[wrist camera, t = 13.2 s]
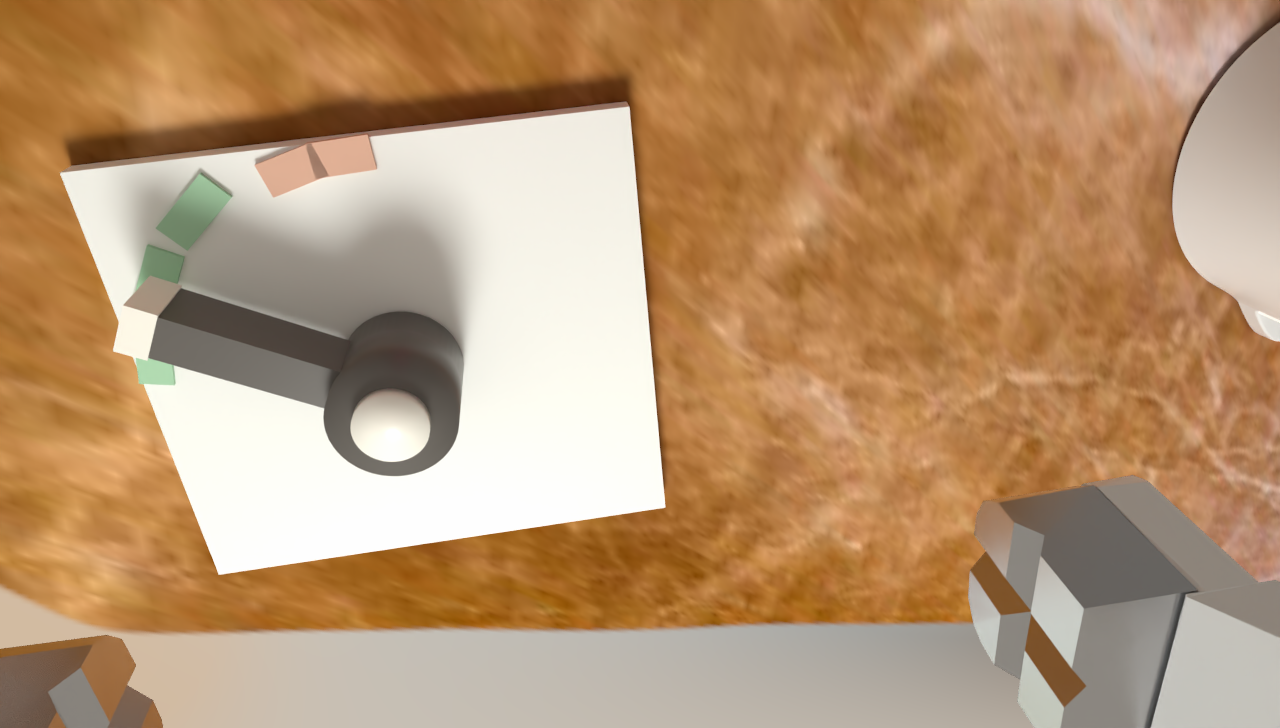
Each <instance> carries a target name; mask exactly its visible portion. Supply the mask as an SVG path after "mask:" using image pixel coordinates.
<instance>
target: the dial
mask: <svg viewBox="0 0 1280 728" xmlns="http://www.w3.org/2000/svg"><path fill="white" fill-rule="evenodd" d="M113 351H114V352H118V353H121V354H125V355H128V356H132V357H135V358H139V359H142V360H146V361H147V360H148V359H149V358H150V359H153V360H157V361H160V362H164V363H167V364H171V365H174V366H177V367H181V368H184V369H188V370H191V371H195V372H198V373H202V374H205V375H209V376H212V377H216V378H219V379H223V380H226V381H230V382H233V383H237V384H240V385H244V386H247V387H251V388H254V389H258V390H261V391H265V392H268V393H272V394H275V395H279V396H282V397H286V398H289V399H293V400H296V401H300V402H303V403H307V404H310V405H314V406H317V407H321V408H324V415H323V419H324V427H325V431H326V434H327V437H328V439H329V441H330V443H331V444H332V446H333V447H334V449H335V450H336V451H337V452H338V453H339V454H340V455H341V456H342V457H343V458H344V459H345V460H347V461H348V462H349V463H351V464H352V465H354V466H356V467H357V468H360V469H362V470H364V471H367V472H370V473H373V474H378V475H383V476H405V475H411V474H415V473H418V472H421V471H424V470H426V469H428V468H430V467H432V466H433V465H435V464H437V463H438V462H439V461H440V460H442V459H443V458H444V457H445V456H446V454H447V453H448V452H449V451H450V449H451V448H452V446H453V444H454V442H455V440H456V437H457V434H458V429H459V420H460V409H461V397H462V385H463V373H464V361H463V355H462V352H461V349H460V347H459V345H458V343H457V341H456V340H455V338H454V337H453V336H452V334H451V333H450V332H449V331H448V330H447V329H446V328H445V327H444V326H442V325H441V324H439V323H438V322H436V321H435V320H433V319H431V318H429V317H426V316H424V315H420V314H417V313H411V312H389V313H384V314H380V315H378V316H375V317H373V318H371V319H369V320H367V321H365V322H364V323H362V324H361V325H360V326H359V327H358V328H357V329H356V330H355V331H354V332H353V333H352V334H351V336H350V338H349V339H348V340H346V339H343V338H340V337H337V336H334V335H330V334H327V333H324V332H321V331H317V330H314V329H311V328H308V327H305V326H301V325H298V324H295V323H292V322H288V321H285V320H282V319H279V318H276V317H272V316H269V315H266V314H263V313H259V312H256V311H253V310H250V309H247V308H243V307H240V306H237V305H234V304H230V303H227V302H224V301H221V300H218V299H214V298H211V297H208V296H205V295H201V294H198V293H195V292H192V291H189V290H185V289H182V285H179V284H176V283H172V282H169V281H166V280H163V279H159V278H156V277H153V276H149V277H148V278H147V279H146V280H145V282H144V283H143V284H142V285H141V286H140V287H139V288H138V289H137V290H136V291H135V293H134V294H133V295H132V296H131V297H130V298H129V299H128V300H127V301H126V302H125V304H124V305H123V307H122V312H121V316H120V321H119V326H118V330H117V335H116V339H115V344H114V349H113Z"/></svg>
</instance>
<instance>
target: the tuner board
mask: <svg viewBox="0 0 1280 728" xmlns="http://www.w3.org/2000/svg"><path fill="white" fill-rule="evenodd" d="M60 174H61V177H62V179H63V182H64V184H65V187H66V190H67V192H68V195H69V197H70V200H71V202H72V205H73V207H74V210H75V212H76V215H77V217H78V220H79V222H80V225H81V227H82V230H83V232H84V235H85V238H86V240H87V243H88V245H89V248H90V250H91V253H92V255H93V258H94V260H95V263H96V265H97V268H98V270H99V273H100V275H101V278H102V280H103V283H104V285H105V288H106V291H107V293H108V296H109V298H110V301H111V303H112V306H113V308H114V311H115V313H116V316H117V318H118V321H120V316H121V312H122V307H123V305H124V304H125V302H126V301H127V300H128V299H129V298H130V297H131V296H132V295H133V294H134V293H135V291H136V290H137V289H138V288H139V287H140V286H141V285H142V284H143V283H144V282H145V280H146V279H147V278H148V277H149V276H153V277H156V278H159V279H163V280H166V281H169V282H172V283H176V284H179V285H182V289H185V290H189V291H192V292H195V293H198V294H201V295H205V296H208V297H211V298H214V299H218V300H221V301H224V302H227V303H230V304H234V305H237V306H240V307H243V308H247V309H250V310H253V311H256V312H259V313H263V314H266V315H269V316H272V317H276V318H279V319H282V320H285V321H288V322H292V323H295V324H298V325H301V326H305V327H308V328H311V329H314V330H317V331H321V332H324V333H327V334H330V335H334V336H337V337H340V338H343V339H346V340H348V339H349V338H350V336H351V334H352V333H353V332H354V331H355V330H356V329H357V328H358V327H359V326H360V325H361V324H362V323H364V322H365V321H367V320H369V319H371V318H373V317H375V316H378V315H380V314H384V313H389V312H411V313H417V314H420V315H424V316H426V317H429V318H431V319H433V320H435V321H436V322H438V323H439V324H441V325H442V326H444V327H445V328H446V329H447V330H448V331H449V332H450V333H451V334H452V336H453V337H454V338H455V340H456V341H457V343H458V345H459V347H460V349H461V352H462V355H463V361H464V373H463V385H462V397H461V409H460V420H459V429H458V434H457V437H456V440H455V442H454V444H453V446H452V448H451V449H450V451H449V452H448V453H447V454H446V456H445V457H444V458H443V459H442V460H440V461H439V462H438V463H437V464H435V465H433V466H432V467H430V468H428V469H426V470H424V471H421V472H418V473H415V474H411V475H405V476H383V475H378V474H373V473H370V472H367V471H364V470H362V469H360V468H357V467H356V466H354V465H352V464H351V463H349V462H348V461H347V460H345V459H344V458H343V457H342V456H341V455H340V454H339V453H338V452H337V451H336V450H335V449H334V447H333V446H332V444H331V443H330V441H329V439H328V437H327V434H326V431H325V427H324V419H323V415H324V408H321V407H317V406H314V405H310V404H307V403H303V402H300V401H296V400H293V399H289V398H286V397H282V396H279V395H275V394H272V393H268V392H265V391H261V390H258V389H254V388H251V387H247V386H244V385H240V384H237V383H233V382H230V381H226V380H223V379H219V378H216V377H212V376H209V375H205V374H202V373H198V372H195V371H191V370H188V369H184V368H181V367H177V366H174V365H171V364H167V363H164V362H160V361H157V360H153V359H150V358H149V359H148V360H147V361H146V360H142V359H139V358H135V357H133V359H134V361H135V364H136V366H137V371H138V378H139V384H144V386H145V389H146V392H147V394H148V397H149V399H150V402H151V404H152V407H153V409H154V412H155V414H156V417H157V419H158V422H159V424H160V427H161V429H162V432H163V434H164V437H165V439H166V442H167V445H168V447H169V450H170V452H171V455H172V457H173V460H174V462H175V465H176V467H177V470H178V472H179V475H180V477H181V480H182V482H183V485H184V487H185V490H186V493H187V495H188V498H189V500H190V503H191V505H192V508H193V510H194V513H195V515H196V518H197V520H198V523H199V525H200V528H201V530H202V533H203V535H204V538H205V540H206V543H207V546H208V548H209V551H210V553H211V556H212V558H213V561H214V563H215V566H216V568H217V571H218V573H219V575H220V574H226V573H233V572H240V571H246V570H253V569H260V568H266V567H273V566H280V565H286V564H293V563H300V562H306V561H313V560H320V559H326V558H333V557H339V556H346V555H353V554H359V553H366V552H373V551H379V550H386V549H393V548H399V547H406V546H413V545H419V544H426V543H433V542H439V541H446V540H453V539H459V538H466V537H473V536H479V535H486V534H492V533H499V532H506V531H512V530H519V529H526V528H532V527H539V526H546V525H552V524H559V523H566V522H572V521H579V520H586V519H592V518H599V517H606V516H612V515H619V514H626V513H632V512H639V511H646V510H652V509H659V508H665V498H664V487H663V476H662V465H661V454H660V443H659V431H658V420H657V409H656V398H655V387H654V375H653V364H652V353H651V342H650V331H649V320H648V308H647V297H646V286H645V275H644V264H643V253H642V241H641V230H640V219H639V208H638V197H637V186H636V174H635V163H634V152H633V141H632V130H631V119H630V107H629V105H628V103H627V101H625V102H617V103H608V104H599V105H591V106H582V107H574V108H565V109H556V110H548V111H539V112H530V113H522V114H513V115H505V116H496V117H487V118H479V119H470V120H461V121H453V122H444V123H436V124H427V125H418V126H410V127H401V128H392V129H384V130H375V131H367V132H358V133H349V134H341V135H332V136H323V137H315V138H306V139H298V140H289V141H280V142H272V143H263V144H254V145H246V146H237V147H228V148H220V149H211V150H203V151H194V152H185V153H177V154H168V155H160V156H151V157H142V158H134V159H125V160H116V161H108V162H99V163H90V164H82V165H73V166H70V167H68V168H67V169H65V170H64V171H62V172H60Z"/></svg>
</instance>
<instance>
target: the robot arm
mask: <svg viewBox="0 0 1280 728" xmlns="http://www.w3.org/2000/svg"><path fill="white" fill-rule="evenodd" d="M1172 207H1173V219H1174V226H1175V230H1176V235H1177V238H1178V241H1179V244H1180V246H1181V248H1182V250H1183V252H1184V254H1185V256H1186V258H1187V259H1188V261H1189V262H1190V264H1191V265H1192V266H1193V267H1194V269H1195V270H1196V271H1197V272H1198V273H1199V274H1200V275H1201V276H1202V277H1204V278H1205V279H1206V280H1208V281H1209V282H1210V283H1212V284H1214V285H1215V286H1217V287H1219V288H1220V289H1222V290H1224V291H1225V292H1227V293H1229V294H1230V295H1231V296H1233V297H1234V298H1235V299H1236V300H1237V301H1238V303H1239V305H1240V308H1241V310H1242V312H1243V314H1244V316H1245V318H1246V320H1247V322H1248V324H1249V325H1250V327H1251V328H1252V329H1253V330H1254V331H1255V332H1256V333H1258V334H1259V335H1262V336H1264V337H1266V338H1269V339H1271V340H1274V341H1280V22H1279V23H1278V24H1277V25H1275V26H1274V27H1273V28H1271V29H1270V30H1269V31H1267V32H1266V33H1265V34H1264V35H1262V36H1261V37H1260V38H1259V39H1258V40H1257V41H1255V42H1254V43H1253V44H1252V45H1251V46H1250V47H1249V48H1248V49H1247V50H1246V51H1245V52H1244V53H1243V54H1242V55H1241V56H1240V57H1239V58H1238V59H1237V60H1236V61H1235V62H1234V63H1233V65H1232V66H1231V67H1230V68H1229V69H1228V70H1227V71H1226V73H1225V74H1224V75H1223V76H1222V78H1221V79H1220V80H1219V81H1218V83H1217V84H1216V86H1215V87H1214V88H1213V90H1212V91H1211V93H1210V94H1209V96H1208V97H1207V99H1206V100H1205V102H1204V104H1203V105H1202V107H1201V109H1200V111H1199V112H1198V114H1197V116H1196V118H1195V120H1194V122H1193V124H1192V126H1191V128H1190V130H1189V133H1188V135H1187V137H1186V140H1185V142H1184V145H1183V148H1182V151H1181V154H1180V157H1179V161H1178V165H1177V169H1176V173H1175V179H1174V186H1173V204H1172ZM974 535H975V536H976V538H977V539H978V541H979V542H980V543H981V545H982V546H983V548H984V549H985V550H986V552H985V553H984V554H983V555H982V557H981V558H980V559H979V560H978V561H977V563H976V564H975V565H974V566H973V567H972V569H971V570H970V580H969V594H968V598H969V603H970V608H971V614H972V619H973V624H974V626H975V629H976V631H977V634H978V636H979V639H980V641H981V644H982V645H983V647H984V649H985V651H986V652H987V654H988V655H989V657H990V659H991V660H992V662H993V664H994V665H995V666H997V667H999V668H1001V669H1002V670H1004V671H1006V672H1008V673H1009V674H1011V675H1013V676H1015V677H1016V678H1018V679H1020V687H1019V693H1018V700H1017V702H1018V703H1019V705H1020V706H1021V708H1022V710H1023V711H1024V713H1025V714H1026V716H1027V717H1028V719H1029V720H1030V722H1031V724H1032V725H1033V727H1034V728H1280V582H1278V581H1276V580H1273V581H1266V582H1260V583H1259V582H1258V581H1256V580H1255V579H1254V578H1253V577H1252V576H1251V575H1250V574H1249V573H1248V572H1247V571H1246V570H1244V569H1243V568H1242V567H1241V566H1240V565H1239V564H1238V563H1237V562H1236V561H1235V560H1233V559H1232V558H1231V557H1230V556H1229V555H1228V554H1227V553H1226V552H1225V551H1224V550H1223V549H1221V548H1220V547H1219V546H1218V545H1217V544H1216V543H1215V542H1214V541H1213V540H1212V539H1211V538H1209V537H1208V536H1207V535H1206V534H1205V533H1204V532H1203V531H1202V530H1201V529H1200V528H1198V527H1197V526H1196V525H1195V524H1194V523H1193V522H1192V521H1191V520H1190V519H1189V518H1188V517H1186V516H1185V515H1184V514H1183V513H1182V512H1181V511H1180V510H1179V509H1178V508H1177V507H1175V506H1174V505H1173V504H1172V503H1171V502H1170V501H1169V500H1168V499H1167V498H1166V497H1165V496H1163V495H1162V494H1161V493H1160V492H1159V491H1158V490H1157V489H1156V488H1155V487H1154V486H1153V485H1151V484H1150V483H1149V482H1148V481H1146V480H1144V479H1142V478H1139V477H1136V476H1133V475H1131V476H1125V477H1119V478H1114V479H1108V480H1102V481H1096V482H1091V483H1085V484H1083V485H1081V486H1074V487H1068V488H1062V489H1055V490H1049V491H1043V492H1036V493H1030V494H1024V495H1018V496H1011V497H1005V498H999V499H993V500H986V501H983V503H982V505H981V507H980V509H979V511H978V513H977V517H976V525H975V532H974ZM135 667H136V664H135V662H134V660H133V659H132V657H131V655H130V653H129V651H128V649H127V648H126V646H125V644H124V642H123V640H122V639H120V638H116V637H112V636H108V635H104V636H96V637H88V638H80V639H74V640H65V641H57V642H50V643H42V644H35V645H27V646H19V647H12V648H4V649H0V728H163V724H162V719H161V717H160V715H159V713H158V711H157V708H156V706H155V704H154V702H153V700H152V699H150V698H148V697H146V696H145V695H143V694H141V693H140V692H138V691H136V690H134V689H132V688H131V687H129V686H127V684H128V682H129V680H130V678H131V676H132V673H133V671H134V669H135Z"/></svg>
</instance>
